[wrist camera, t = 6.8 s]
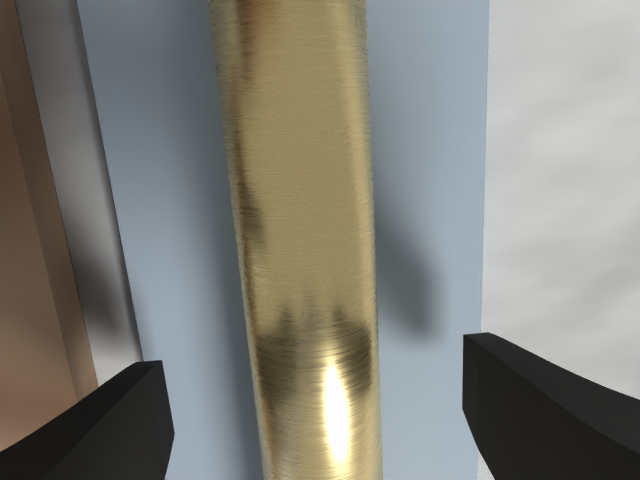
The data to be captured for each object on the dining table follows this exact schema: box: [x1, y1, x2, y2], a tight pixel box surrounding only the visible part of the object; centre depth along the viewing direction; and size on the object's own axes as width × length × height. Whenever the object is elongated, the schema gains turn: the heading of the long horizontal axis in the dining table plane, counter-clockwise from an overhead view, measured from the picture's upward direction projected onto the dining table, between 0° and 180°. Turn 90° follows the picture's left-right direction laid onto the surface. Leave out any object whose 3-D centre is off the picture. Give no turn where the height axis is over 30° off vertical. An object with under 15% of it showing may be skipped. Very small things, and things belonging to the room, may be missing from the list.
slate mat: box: [77, 0, 489, 480], centre depth 13 cm, size 28×9×1 cm, turn 4°
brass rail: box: [208, 0, 384, 480], centre depth 12 cm, size 22×3×3 cm, turn 4°
